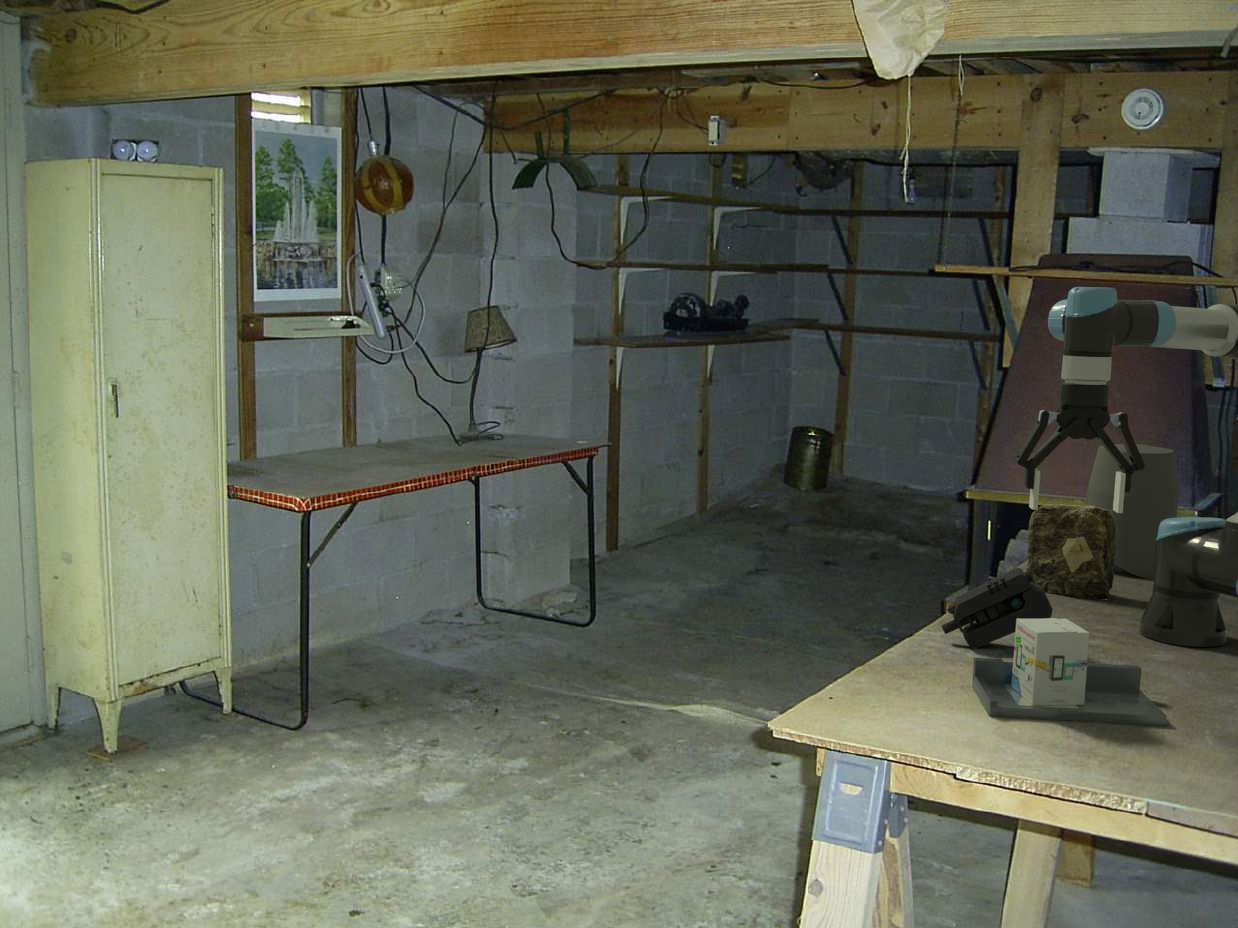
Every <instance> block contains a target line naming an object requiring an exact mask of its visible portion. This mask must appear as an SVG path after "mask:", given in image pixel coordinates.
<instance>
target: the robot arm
mask: <svg viewBox="0 0 1238 928" xmlns="http://www.w3.org/2000/svg"><path fill="white" fill-rule="evenodd" d="M1047 326H1048V330H1049V332H1050V334H1051V335H1052V336H1053V338H1055V339H1056V340H1059V341H1061V342H1063V350H1062V354H1063V355H1062V364H1061V365H1062V366H1061V375H1060V376H1061V379H1062V380H1064V381H1063V382H1061V384H1060V388H1059V401H1058V403H1059V404H1058V409H1057V411H1056V412H1053V411H1047V410H1045V409H1040V410H1038V414H1037V417H1036V423H1035V424H1034V426H1033V428H1032V430H1031V431H1030V433H1029V435H1028V436H1027V438H1026V440H1025V441H1024V443H1023V444H1022V446H1021V448H1020V449H1019V451H1018V453H1017V455H1016V456H1015V458H1014V462H1015V464H1016V465H1018V466H1021V467H1023V468H1024V469H1025V471H1024V472H1025V474H1024V475H1025V476H1024V487H1025V489H1028V490H1029V504H1028V507H1029V508H1030V509H1031V510H1033V511H1036V510H1038V508H1039V497H1040V483H1041V482H1040V481H1041V470H1040V469H1038V466H1039V465H1041V464H1042V463H1043V462H1044V461H1045V459H1046V458H1047V457H1048V456H1050V455H1051V453H1052V452H1054V450H1055V449H1057V447H1058V446H1059V445H1061V443H1062V442H1064V441H1066V439H1067V438H1069V439H1073V440H1080V439H1086V440H1094V439H1095V438H1096V439H1097V441H1098V442H1099V443H1100V444H1101V445H1103V447H1104V448H1105V449H1106V451H1107V452H1108V453H1109V454H1110V456H1111V457H1112V458H1113V460H1114V461H1115V462H1116V463H1117V465H1118V466H1119V467H1120V469H1121V470H1122V472H1117V471H1116V478H1115V490H1114V503H1113V510H1114V511H1115V512H1117V513H1123V503H1124V492H1130V490H1131V478H1132V474H1133V473H1134V472H1135V471H1137V470H1143V469H1144V468H1145V465H1144V462H1143V460H1142V458H1141V455H1140V453H1139V451H1138V448H1137V446H1136V441H1135V440H1134V437H1133V434H1132V432H1131V430H1130V428H1129V415H1128V414H1127V413H1125V412H1122V411H1121V412H1120V411H1118V412H1116V413H1109V398H1110V386H1109V384H1107V382H1109V381H1110V380H1111V377H1112V376H1111V374H1112V373H1111V372H1112V360H1113V359H1112V358H1113V350H1114V347H1116V346H1122V347H1125V346H1126V347H1147V348H1150V347H1151V348H1165V349H1179V350H1180V349H1182V350H1193V351H1194V350H1195V351H1197V350H1198V351H1202V352H1203V353H1204V354H1206V355H1208V356H1211V357H1219V358H1220V357H1221V358H1227V359H1232V360H1237V361H1238V304H1237V303H1236V304H1223V303H1222V304H1221V303H1218V304H1213V305H1211V306H1209V307H1208V308H1205V307H1204V308H1203V307H1202V308H1201V307H1188V306H1176V305H1174V306H1173V305H1170V304H1168V303H1167V302H1164V301H1160V300H1159V301H1157V300H1154V299H1152V300H1151V299H1145V300H1138V299H1136V300H1135V299H1134V300H1133V299H1132V300H1131V299H1119V298H1118V292H1117V289H1116V288H1114V287H1103V286H1102V287H1098V286H1076V287H1072V288H1071V289H1070V290H1069V291H1068V295H1067V299H1062V300H1059V301H1058V302H1056V303H1055V304H1054V305H1053V306H1052V307H1051V309H1050V310H1049V313H1048V319H1047ZM1054 420H1055V421H1056V422H1057V424H1058V425H1059V427H1058V428H1057V429H1056V430H1055V431H1054V432H1053V434H1052V435H1051V436H1050V437H1049V438H1048V439H1047V440H1046V441H1045V442H1044V444H1042V445H1041V446H1040V447H1039V448H1038V449H1037V450H1036V451H1035V452H1034V454H1033V455H1032V456H1031V454H1032V453H1033V451H1034V449H1035V448H1036V446H1037V445H1038V442H1039V441H1040V440H1041V438H1042V436H1043V435H1044V433H1045V431H1046V429H1047V426H1048V425H1051V424H1052V423H1053V421H1054ZM1110 421H1111V424H1112V425H1113V427H1116V430H1117V432H1118V435H1119V437H1120V439H1121V442H1122V444H1124V447H1125V449H1126V451H1127V454H1128V456H1129V458H1130V461H1131V463H1128V461H1127V460H1126V459H1125V457H1124V456H1123V455H1122V454H1121V452H1120V451H1119V450H1118V448H1117V447H1116V446H1115V445H1114V444H1115V443H1114V442H1113V441H1112V440H1111V438H1110V435H1108V433H1107V432H1106V431H1105V427H1107V425H1108V424H1109V423H1110ZM1030 456H1031V457H1030ZM1221 594H1222V595H1224V596H1229V597H1232V598H1235V599H1238V511H1237V512H1236V513H1235V514H1233V515H1231V516H1230V517H1228V518H1226V519H1224V518H1219V517H1203V516H1202V517H1199V516H1196V517H1195V516H1194V517H1193V516H1192V517H1188V516H1184V517H1177V518H1168V519H1165V520H1163V521H1162V522H1161V523H1160V525H1159V530H1158V536H1157V538H1156V554H1155V569H1154V578H1153V586H1152V594H1151V595H1150V598H1149V600H1148V603H1147V605H1146V607H1145V609H1144V611H1143V613H1142V614H1141V615H1142V616H1141V618H1140V623H1139V633H1140V634H1142V636H1143V637H1147V638H1149V639H1152V640H1154V641H1157V642H1161V643H1166V644H1170V645H1177V646H1183V647H1196V648H1212V647H1219V646H1220V647H1221V646H1223V645H1225V644H1226V643H1227V637H1228V629H1227V625H1226V620H1225V616H1224V614H1223V610H1222V606H1221Z"/></svg>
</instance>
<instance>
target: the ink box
mask: <svg viewBox="0 0 1238 928" xmlns="http://www.w3.org/2000/svg"><path fill="white" fill-rule="evenodd" d="M1014 634H1015V635H1014V647H1013V648H1014V649H1013V658H1014V659H1013V672H1012V685H1011V687H1012V688H1013V689H1014V690H1015V691H1017V692H1018V693H1019V694H1020V695H1021V696H1022V697H1024V698H1025V699H1026V700H1027V701H1028V702H1030V703H1031V704H1032V705H1084V700H1085V686H1086V673H1087V663H1088V658H1089V656H1088V655H1089V643H1090V632H1089V631H1087V630H1085V628H1083V627H1080V626H1079V625H1077V624H1076V623H1074V622H1072V621H1071V620H1069V619H1068V618H1065V617H1064V618H1056V617H1050V618H1043V619H1018V618H1017V619H1016V632H1014Z"/></svg>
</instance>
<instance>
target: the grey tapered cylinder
mask: <svg viewBox="0 0 1238 928" xmlns="http://www.w3.org/2000/svg"><path fill="white" fill-rule="evenodd" d="M1135 444H1136V443H1135ZM1114 445H1115V446H1116V447H1117V448H1118V450H1119V451H1120V452H1121V454H1122V455H1123V456H1124V457H1125V459H1126V460H1127V461H1128V463H1131V461H1130V458H1129V456H1128V454H1127V451H1126V449H1125V447H1124V444H1123V443H1114ZM1136 446H1137V448H1138V451H1139V453H1140V455H1141V458H1142V460H1143V462H1144V465H1145V468H1144V469H1143V470H1137V471H1135V472H1134V473H1133V474H1132V478H1131V490H1130V492H1124V503H1123V513H1117V512H1115V511H1114V510H1113V503H1114V490H1115V478H1116V471H1117V472H1122V470H1121V469H1120V467H1119V466H1118V465H1117V463H1116V462H1115V461H1114V460H1113V458H1112V457H1111V456H1110V454H1109V453H1108V452H1107V451H1106V449H1105V448H1104V447H1103V445H1102V444H1101V445H1099V446H1098V448H1097V452H1096V456H1095V460H1094V463H1093V467H1092V471H1091V474H1090V477H1089V481H1088V484H1087V493H1086V501H1085V504H1086V505H1085V506H1095V507H1099V508H1103V509H1107V510H1110V511H1112V513H1113V515H1114V519H1115V524H1116V537H1115V542H1116V548H1115V549H1116V554H1115V563H1114V565H1116V566H1118V567H1119V568H1121V569H1123V570H1125V571H1126V572H1129V573H1130V574H1132V575H1135V576H1137V577H1140V578H1144V579H1154V569H1155V554H1156V538H1157V536H1158V530H1159V525H1160V523H1161V522H1162V521H1163V520H1165V519H1168V518H1178V508H1179V507H1178V506H1179V497H1180V496H1179V495H1180V494H1179V492H1180V491H1179V484H1178V483H1179V482H1178V475H1177V463H1176V457H1175V451H1174V450H1173V449H1170V448H1166V447H1159V446H1154V445H1147V444H1139V443H1137V444H1136Z"/></svg>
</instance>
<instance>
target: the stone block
mask: <svg viewBox="0 0 1238 928" xmlns="http://www.w3.org/2000/svg"><path fill="white" fill-rule="evenodd" d="M1027 537H1028V539H1027V540H1028V542H1027V543H1028V544H1027V547H1028V548H1027V560H1028V562H1027V567H1026V570H1025V572H1027V571H1029V572H1030V574H1031V576H1032V578H1033V580H1034V581H1032V582H1030V583H1033V584H1036V585H1039V586H1041V587H1042V588H1043V589H1044V592H1045V593H1049V594H1056V593H1059V594H1058V595H1061V594H1063V595H1062V596H1065V595H1066V596H1065V597H1071V596H1074V597H1073V598H1078V597H1081V598H1080V599H1089V598H1093V599H1092V600H1097V599H1107V600H1106V601H1110V600H1111V598H1110V590H1112V588H1113V586H1114V585H1113V584H1114V580H1115V579H1114V578H1115V575H1114V571H1115V564H1114V563H1115V554H1116V549H1115V548H1116V542H1115V537H1116V524H1115V519H1114V515H1113V513H1112V511H1110V510H1107V509H1103V508H1099V507H1095V506H1086V505H1074V504H1065V503H1061V504H1053V503H1052V504H1051V503H1048V504H1044V505H1043V504H1042V505H1041V506H1039V507H1038V510H1034V511H1033V512H1032V514H1031V516H1030V518H1029V523H1028V536H1027ZM1094 598H1095V599H1094Z"/></svg>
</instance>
